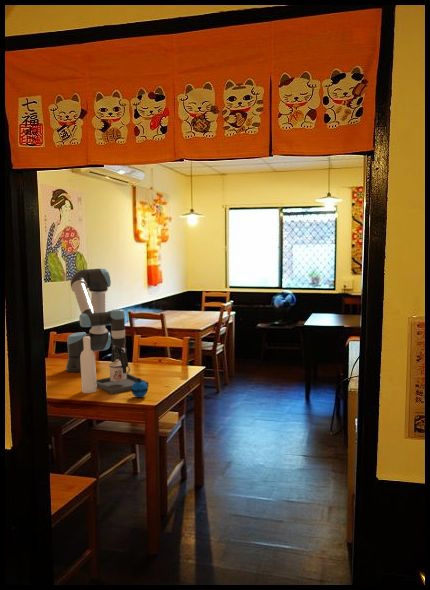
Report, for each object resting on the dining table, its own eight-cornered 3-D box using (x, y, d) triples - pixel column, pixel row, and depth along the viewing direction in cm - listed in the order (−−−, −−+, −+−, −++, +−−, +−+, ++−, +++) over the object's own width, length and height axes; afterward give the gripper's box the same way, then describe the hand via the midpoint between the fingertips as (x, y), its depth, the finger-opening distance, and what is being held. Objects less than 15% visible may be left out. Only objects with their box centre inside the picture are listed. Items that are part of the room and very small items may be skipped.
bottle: (79, 391, 272) (76, 337, 269) (92, 388, 277) (89, 334, 274) (86, 394, 266) (83, 338, 263) (99, 390, 272) (96, 336, 269)
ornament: (150, 395, 262) (149, 376, 261) (144, 400, 254) (143, 380, 253) (135, 394, 264) (134, 375, 263) (128, 399, 256) (127, 380, 255)
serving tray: (93, 384, 284) (93, 380, 284) (128, 377, 297) (128, 373, 297) (112, 394, 265) (111, 389, 265) (148, 386, 278) (148, 382, 278)
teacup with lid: (113, 383, 274) (112, 362, 272) (107, 379, 281) (106, 359, 280) (133, 379, 280) (132, 359, 279) (126, 376, 288) (126, 356, 287)
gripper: (133, 339, 272) (135, 379, 274) (116, 334, 289) (117, 372, 291) (121, 340, 267) (123, 382, 270) (103, 335, 285) (105, 374, 287)
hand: (120, 376), depth 280 cm, fingers closed on teacup with lid, 9 cm apart
